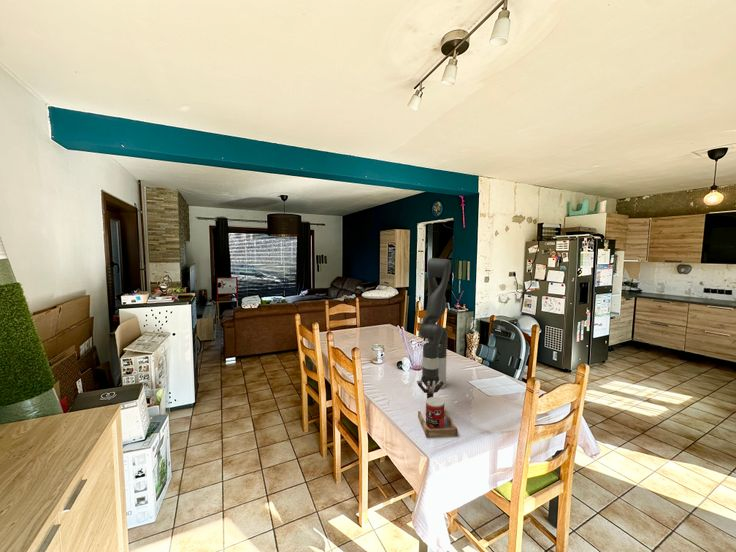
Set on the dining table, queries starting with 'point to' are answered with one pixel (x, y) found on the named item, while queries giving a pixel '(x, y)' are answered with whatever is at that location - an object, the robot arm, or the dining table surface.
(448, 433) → the corral
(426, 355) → the robot arm
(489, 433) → the dining table surface
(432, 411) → the canned food
